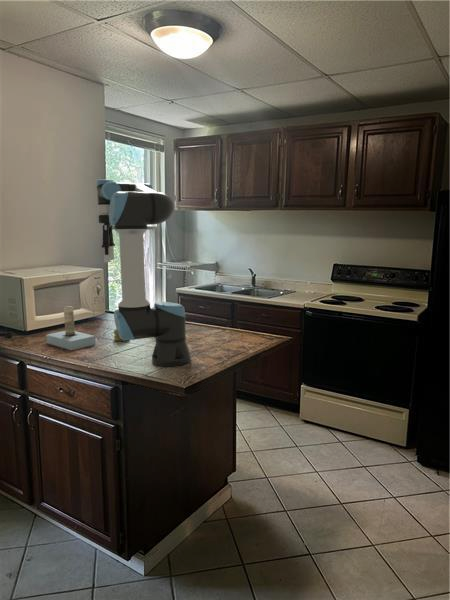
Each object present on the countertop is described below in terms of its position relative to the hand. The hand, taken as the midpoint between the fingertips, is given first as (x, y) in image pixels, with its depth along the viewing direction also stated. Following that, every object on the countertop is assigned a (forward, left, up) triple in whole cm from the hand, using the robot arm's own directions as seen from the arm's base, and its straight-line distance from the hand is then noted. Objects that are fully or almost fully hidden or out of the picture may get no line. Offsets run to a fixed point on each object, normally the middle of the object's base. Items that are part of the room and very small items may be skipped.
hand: (109, 261), depth 206 cm
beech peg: (-14, +14, -36) cm, 41 cm away
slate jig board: (-14, +14, -37) cm, 42 cm away
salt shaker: (-3, -6, -37) cm, 38 cm away
